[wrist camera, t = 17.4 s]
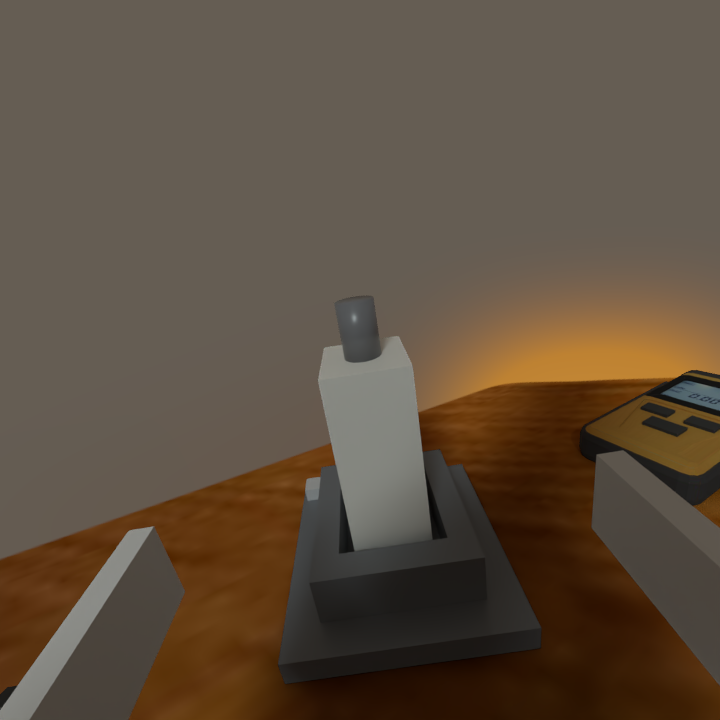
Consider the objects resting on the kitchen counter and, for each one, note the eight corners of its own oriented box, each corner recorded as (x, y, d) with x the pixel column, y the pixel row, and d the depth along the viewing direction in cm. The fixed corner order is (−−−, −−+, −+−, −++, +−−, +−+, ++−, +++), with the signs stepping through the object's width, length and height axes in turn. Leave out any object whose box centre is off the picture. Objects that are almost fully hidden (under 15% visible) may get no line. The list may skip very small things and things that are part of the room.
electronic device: (570, 458, 32) (571, 422, 30) (677, 395, 38) (681, 364, 36) (696, 521, 24) (704, 477, 23) (805, 430, 30) (816, 391, 29)
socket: (462, 479, 30) (459, 432, 29) (540, 648, 18) (542, 583, 17) (309, 502, 31) (298, 457, 29) (284, 683, 18) (263, 623, 17)
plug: (419, 507, 26) (392, 285, 21) (435, 568, 21) (405, 302, 16) (358, 516, 26) (314, 298, 21) (360, 579, 22) (304, 319, 16)
